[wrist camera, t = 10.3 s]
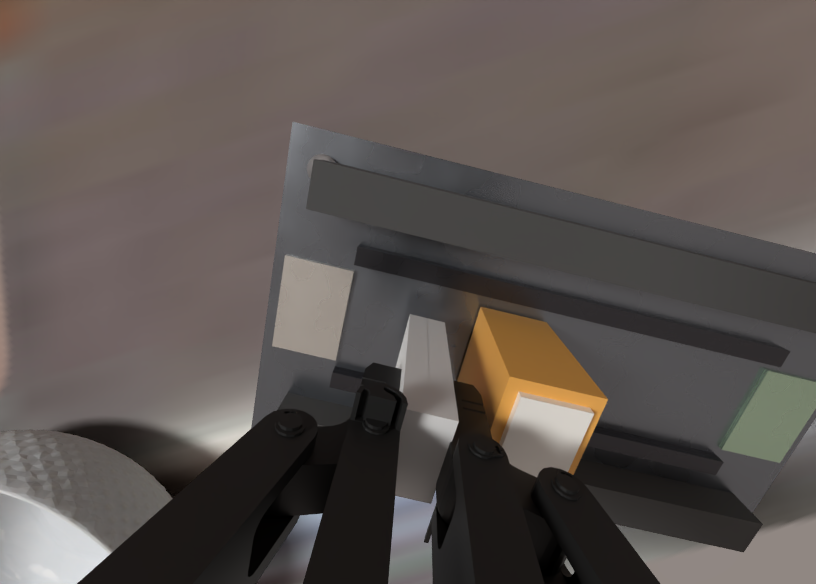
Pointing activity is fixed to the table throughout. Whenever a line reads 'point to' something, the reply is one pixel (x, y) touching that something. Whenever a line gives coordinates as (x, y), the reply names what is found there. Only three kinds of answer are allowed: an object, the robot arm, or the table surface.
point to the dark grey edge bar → (626, 494)
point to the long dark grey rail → (560, 245)
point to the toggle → (531, 391)
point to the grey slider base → (545, 301)
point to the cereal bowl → (67, 505)
